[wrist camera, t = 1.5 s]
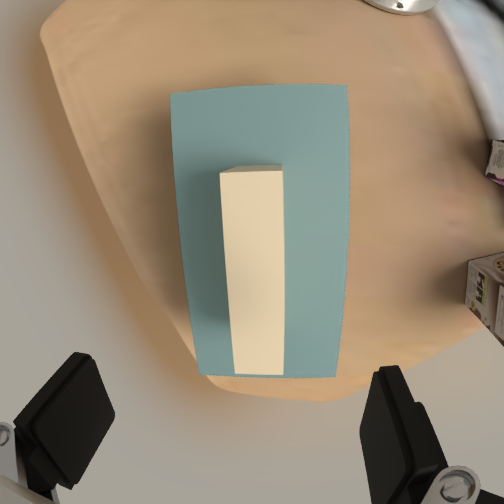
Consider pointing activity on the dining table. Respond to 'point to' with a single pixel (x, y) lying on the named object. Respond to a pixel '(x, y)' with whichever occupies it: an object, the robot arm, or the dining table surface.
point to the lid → (264, 225)
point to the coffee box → (487, 292)
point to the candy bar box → (496, 162)
